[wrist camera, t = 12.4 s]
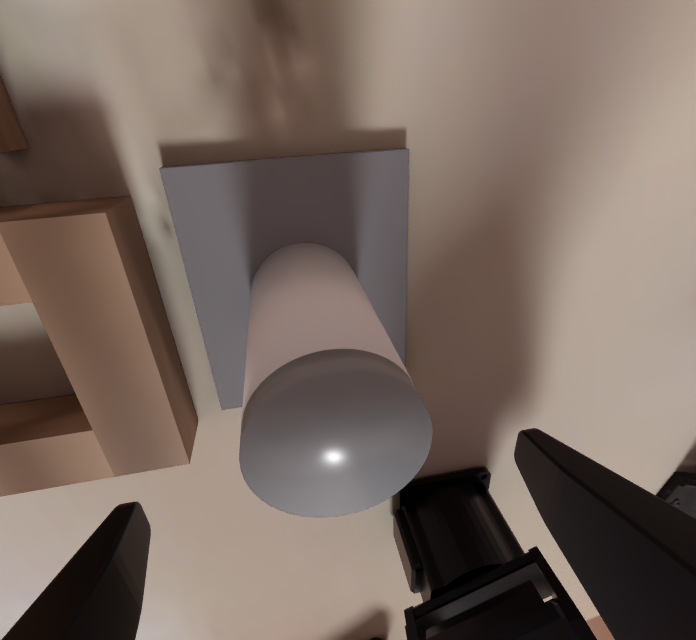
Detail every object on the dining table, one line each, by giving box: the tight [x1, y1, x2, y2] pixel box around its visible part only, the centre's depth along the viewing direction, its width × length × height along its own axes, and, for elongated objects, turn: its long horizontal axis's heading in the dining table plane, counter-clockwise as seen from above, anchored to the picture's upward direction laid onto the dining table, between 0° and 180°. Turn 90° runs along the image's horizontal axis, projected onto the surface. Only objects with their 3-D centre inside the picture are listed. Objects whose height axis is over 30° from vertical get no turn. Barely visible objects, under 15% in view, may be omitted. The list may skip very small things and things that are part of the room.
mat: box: [159, 148, 409, 410], centre depth 19 cm, size 10×12×1 cm
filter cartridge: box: [239, 243, 433, 518], centre depth 15 cm, size 5×5×10 cm
